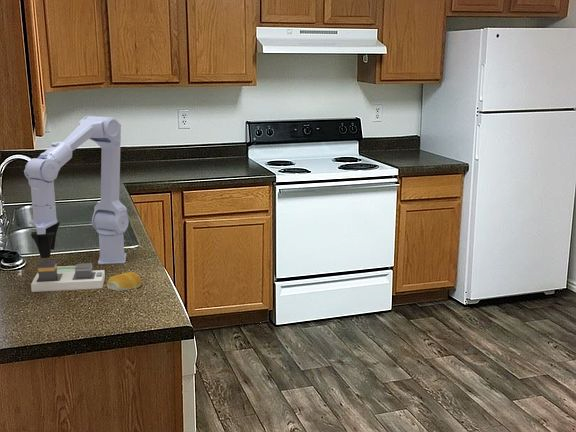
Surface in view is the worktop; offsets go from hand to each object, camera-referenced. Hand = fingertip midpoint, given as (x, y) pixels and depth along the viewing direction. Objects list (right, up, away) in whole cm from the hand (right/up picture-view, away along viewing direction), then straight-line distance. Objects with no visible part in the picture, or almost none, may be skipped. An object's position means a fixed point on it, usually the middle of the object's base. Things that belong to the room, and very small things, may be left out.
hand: (47, 253), depth 176 cm
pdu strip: (+5, -9, +3) cm, 11 cm away
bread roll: (+20, -10, +3) cm, 22 cm away
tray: (+1, -7, +12) cm, 14 cm away
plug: (0, -9, +2) cm, 9 cm away
